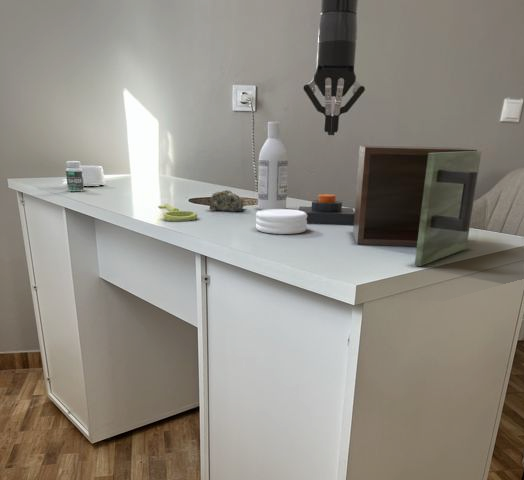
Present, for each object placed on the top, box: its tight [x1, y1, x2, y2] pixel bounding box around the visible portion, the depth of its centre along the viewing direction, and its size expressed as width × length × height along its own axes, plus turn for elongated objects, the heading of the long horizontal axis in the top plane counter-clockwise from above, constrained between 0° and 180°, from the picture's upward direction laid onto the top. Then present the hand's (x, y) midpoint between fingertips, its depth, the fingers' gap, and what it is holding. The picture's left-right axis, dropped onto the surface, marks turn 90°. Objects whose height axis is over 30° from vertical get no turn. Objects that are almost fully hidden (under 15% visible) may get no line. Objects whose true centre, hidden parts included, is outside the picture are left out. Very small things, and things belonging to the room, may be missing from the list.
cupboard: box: [352, 144, 478, 248], centre depth 99 cm, size 12×18×16 cm, turn 85°
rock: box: [208, 189, 244, 212], centre depth 134 cm, size 7×8×4 cm
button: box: [318, 193, 336, 203], centre depth 121 cm, size 4×4×2 cm
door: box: [414, 150, 482, 267], centre depth 84 cm, size 6×18×16 cm, turn 140°
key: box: [157, 203, 198, 222], centre depth 121 cm, size 7×12×2 cm, turn 45°
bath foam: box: [257, 121, 289, 211], centre depth 134 cm, size 7×7×20 cm
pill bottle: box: [65, 160, 85, 192], centre depth 165 cm, size 5×5×8 cm
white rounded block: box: [80, 165, 106, 186], centre depth 182 cm, size 12×10×6 cm
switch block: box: [298, 199, 355, 226], centre depth 122 cm, size 12×10×4 cm
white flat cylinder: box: [255, 208, 308, 235], centre depth 109 cm, size 10×10×4 cm
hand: (330, 135), depth 116 cm, fingers closed
